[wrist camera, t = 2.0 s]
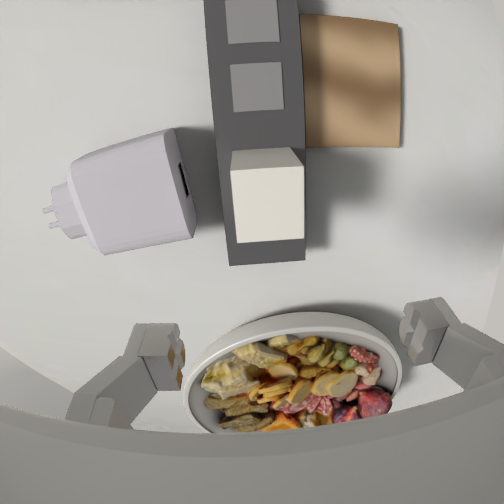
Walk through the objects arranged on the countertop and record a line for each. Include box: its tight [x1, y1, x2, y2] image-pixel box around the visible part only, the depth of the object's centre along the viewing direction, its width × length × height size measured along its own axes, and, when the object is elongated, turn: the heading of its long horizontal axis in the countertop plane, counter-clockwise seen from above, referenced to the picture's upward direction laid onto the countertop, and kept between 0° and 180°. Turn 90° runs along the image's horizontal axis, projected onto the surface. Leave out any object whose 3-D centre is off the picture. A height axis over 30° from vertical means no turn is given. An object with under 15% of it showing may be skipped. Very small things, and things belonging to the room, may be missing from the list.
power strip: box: [204, 0, 306, 266], centre depth 23 cm, size 28×7×4 cm, turn 4°
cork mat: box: [299, 14, 401, 148], centre depth 24 cm, size 12×9×1 cm
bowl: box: [183, 312, 402, 433], centre depth 40 cm, size 30×30×8 cm
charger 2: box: [230, 147, 304, 243], centre depth 24 cm, size 5×4×8 cm
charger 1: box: [43, 128, 197, 255], centre depth 27 cm, size 5×9×15 cm
